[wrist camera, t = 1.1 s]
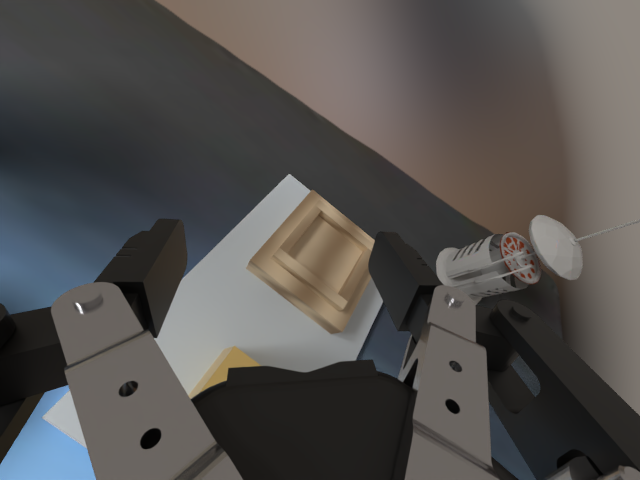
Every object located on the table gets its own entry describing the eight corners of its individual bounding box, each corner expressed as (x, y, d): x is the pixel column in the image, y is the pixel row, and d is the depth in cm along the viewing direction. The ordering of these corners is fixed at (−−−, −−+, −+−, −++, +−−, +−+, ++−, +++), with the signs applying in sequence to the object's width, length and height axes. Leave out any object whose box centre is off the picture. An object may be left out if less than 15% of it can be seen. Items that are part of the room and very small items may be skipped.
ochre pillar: (183, 401, 23) (172, 428, 14) (223, 349, 25) (234, 345, 17) (230, 435, 23) (246, 480, 15) (265, 379, 26) (296, 391, 17)
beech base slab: (245, 268, 29) (251, 256, 26) (304, 201, 35) (315, 184, 32) (330, 334, 30) (347, 331, 26) (373, 257, 36) (391, 246, 33)
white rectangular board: (48, 415, 20) (41, 417, 19) (287, 177, 37) (289, 173, 36) (256, 556, 22) (259, 565, 21) (396, 266, 38) (400, 264, 38)
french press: (492, 295, 44) (765, 238, 23) (448, 320, 38) (753, 277, 17) (463, 241, 46) (686, 144, 25) (418, 258, 41) (654, 151, 19)
